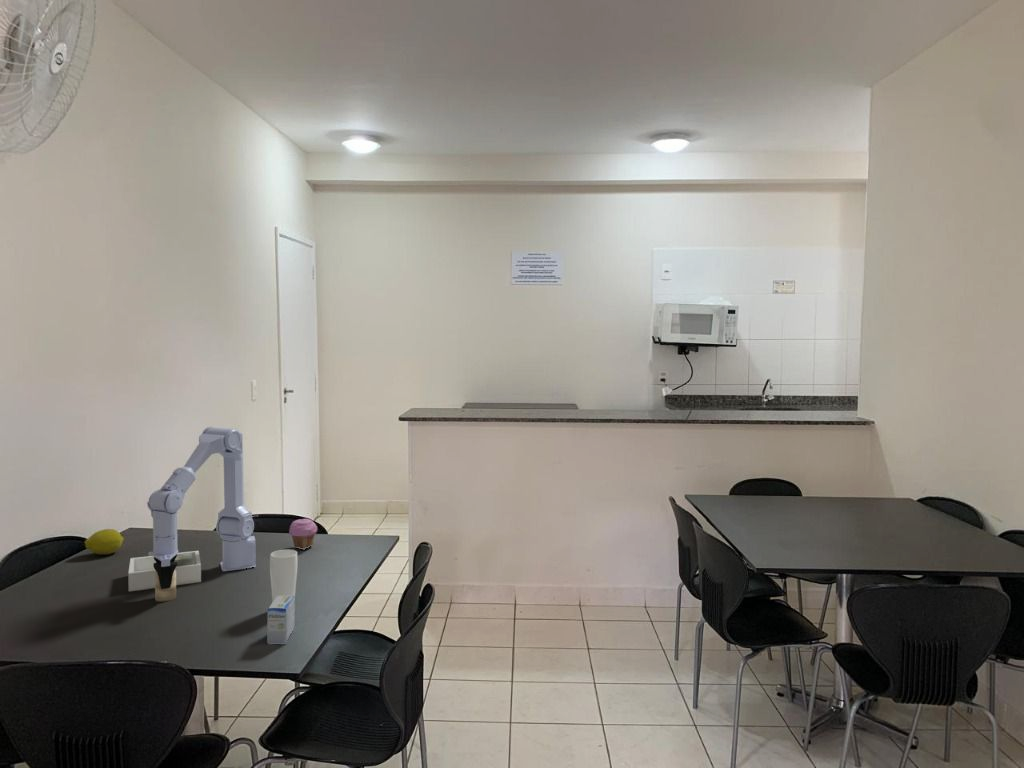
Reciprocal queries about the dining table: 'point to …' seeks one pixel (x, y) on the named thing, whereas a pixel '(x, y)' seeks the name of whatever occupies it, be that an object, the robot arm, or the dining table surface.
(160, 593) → the wooden cylinder
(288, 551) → the drinking glass
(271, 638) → the medicine box
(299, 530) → the cupcake
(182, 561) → the sage cube
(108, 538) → the lemon
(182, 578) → the box
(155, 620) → the dining table surface
